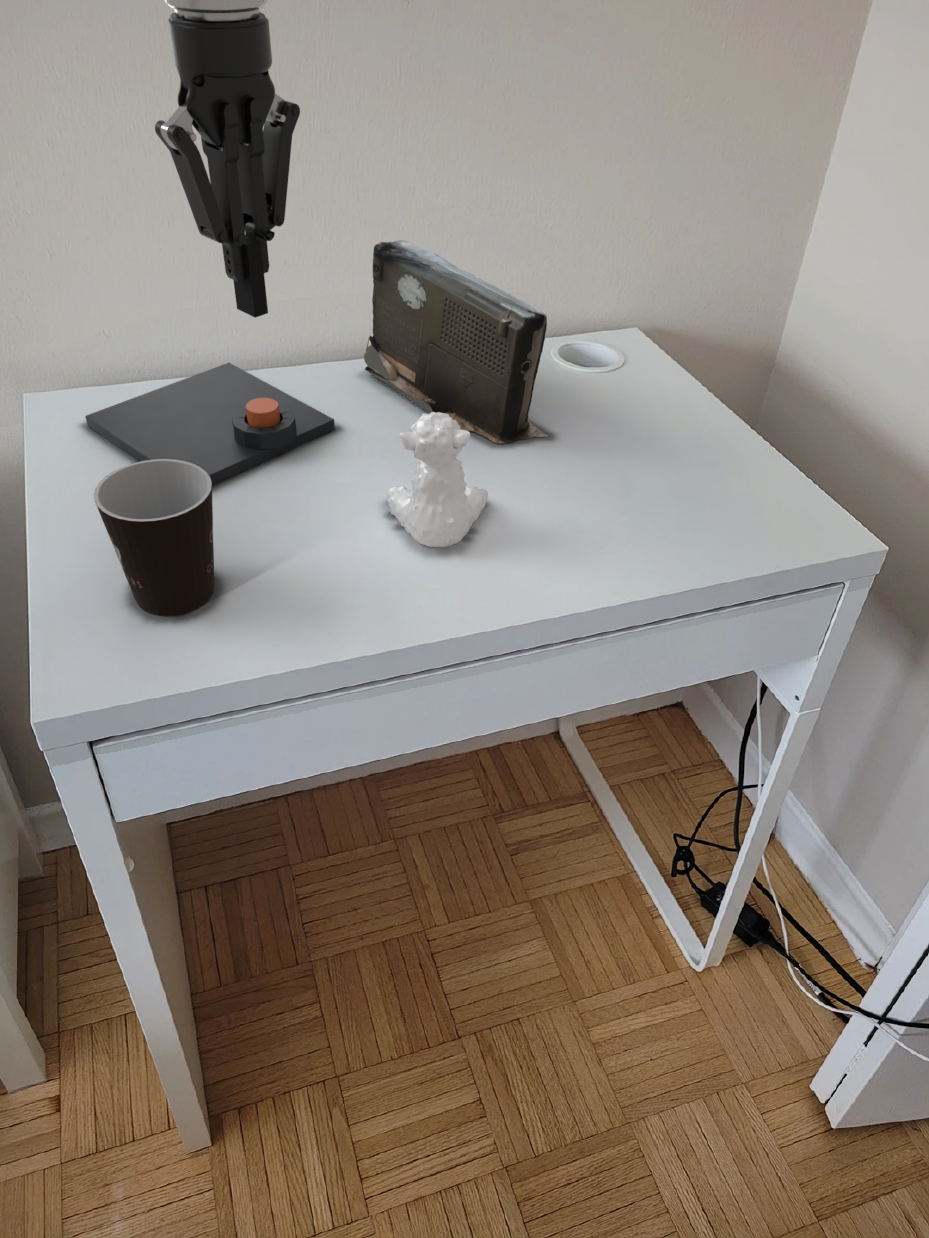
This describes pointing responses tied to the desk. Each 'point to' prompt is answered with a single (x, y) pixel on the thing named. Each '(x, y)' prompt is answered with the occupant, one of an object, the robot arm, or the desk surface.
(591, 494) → the desk surface
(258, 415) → the button
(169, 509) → the coffee mug
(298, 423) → the scale
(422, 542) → the sitting furry creature
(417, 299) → the radio
